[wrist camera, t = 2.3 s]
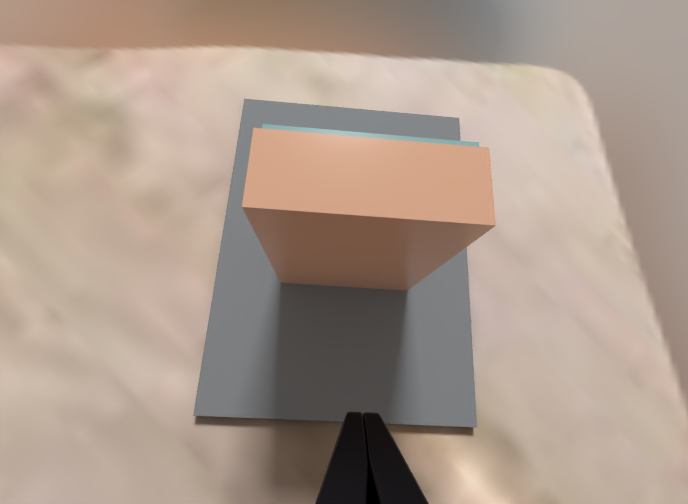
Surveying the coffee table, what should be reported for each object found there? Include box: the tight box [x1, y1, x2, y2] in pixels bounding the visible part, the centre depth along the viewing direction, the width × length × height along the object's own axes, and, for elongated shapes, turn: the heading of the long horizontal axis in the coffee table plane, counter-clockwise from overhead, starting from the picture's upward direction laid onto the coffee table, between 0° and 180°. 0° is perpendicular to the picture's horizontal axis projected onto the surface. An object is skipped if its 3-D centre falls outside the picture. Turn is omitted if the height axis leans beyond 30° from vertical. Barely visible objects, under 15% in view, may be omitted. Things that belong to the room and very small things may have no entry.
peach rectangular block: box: [242, 124, 496, 291], centre depth 15 cm, size 3×7×10 cm, turn 87°
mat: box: [193, 99, 477, 427], centre depth 20 cm, size 18×14×1 cm
